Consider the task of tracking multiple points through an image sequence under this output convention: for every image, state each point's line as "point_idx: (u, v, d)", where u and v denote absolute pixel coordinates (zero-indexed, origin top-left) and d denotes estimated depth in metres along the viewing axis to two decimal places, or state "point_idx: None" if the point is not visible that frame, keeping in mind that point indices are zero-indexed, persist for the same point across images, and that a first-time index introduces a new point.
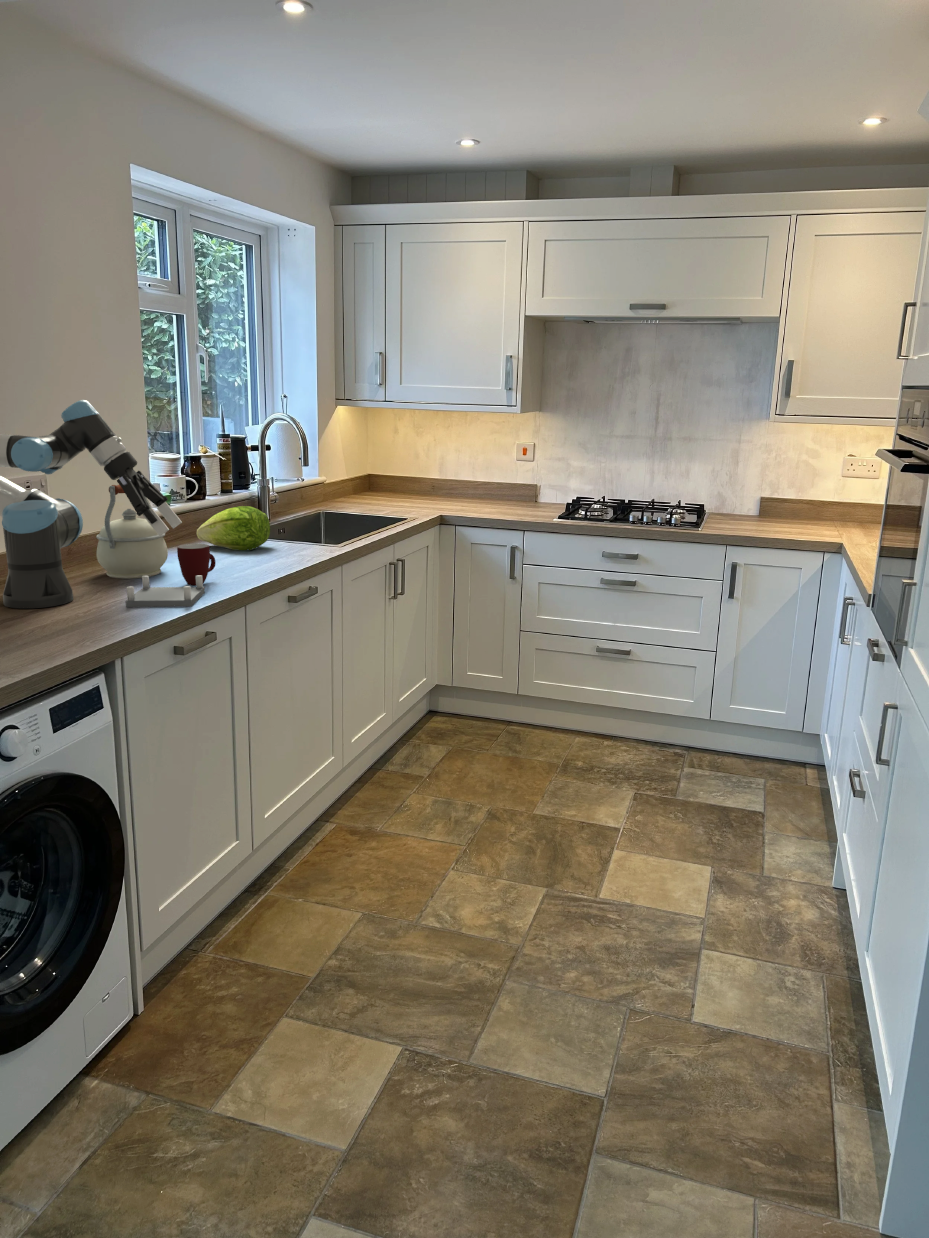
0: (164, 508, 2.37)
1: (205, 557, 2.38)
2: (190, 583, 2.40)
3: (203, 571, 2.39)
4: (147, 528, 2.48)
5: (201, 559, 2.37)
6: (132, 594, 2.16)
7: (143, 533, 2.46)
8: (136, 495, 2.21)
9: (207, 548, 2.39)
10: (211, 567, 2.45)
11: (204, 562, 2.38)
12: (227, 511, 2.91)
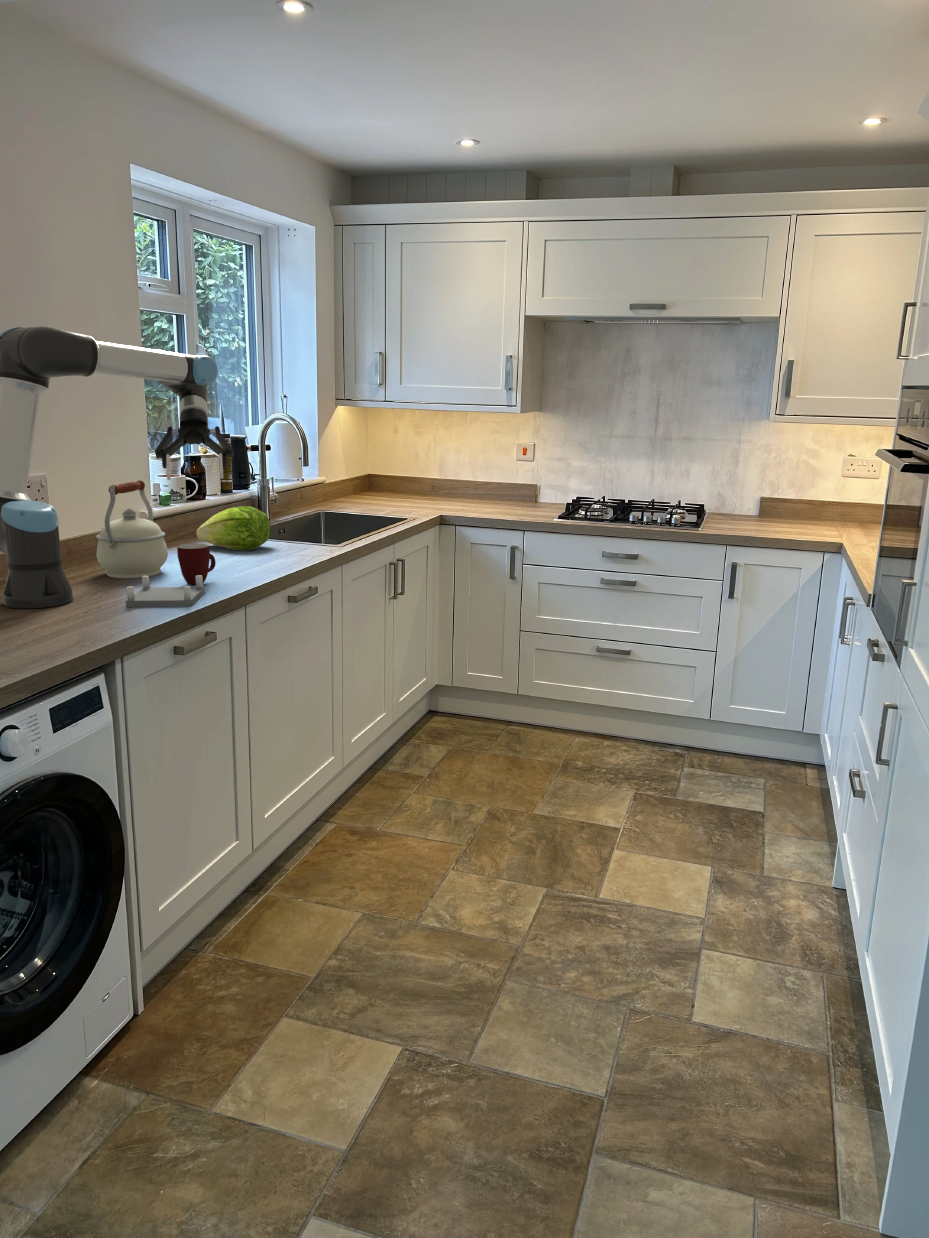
0: None
1: (205, 557, 2.38)
2: (190, 583, 2.40)
3: (203, 571, 2.39)
4: (147, 528, 2.48)
5: (201, 559, 2.37)
6: (132, 594, 2.16)
7: (143, 533, 2.46)
8: None
9: (207, 548, 2.39)
10: (211, 567, 2.45)
11: (204, 562, 2.38)
12: (227, 511, 2.91)
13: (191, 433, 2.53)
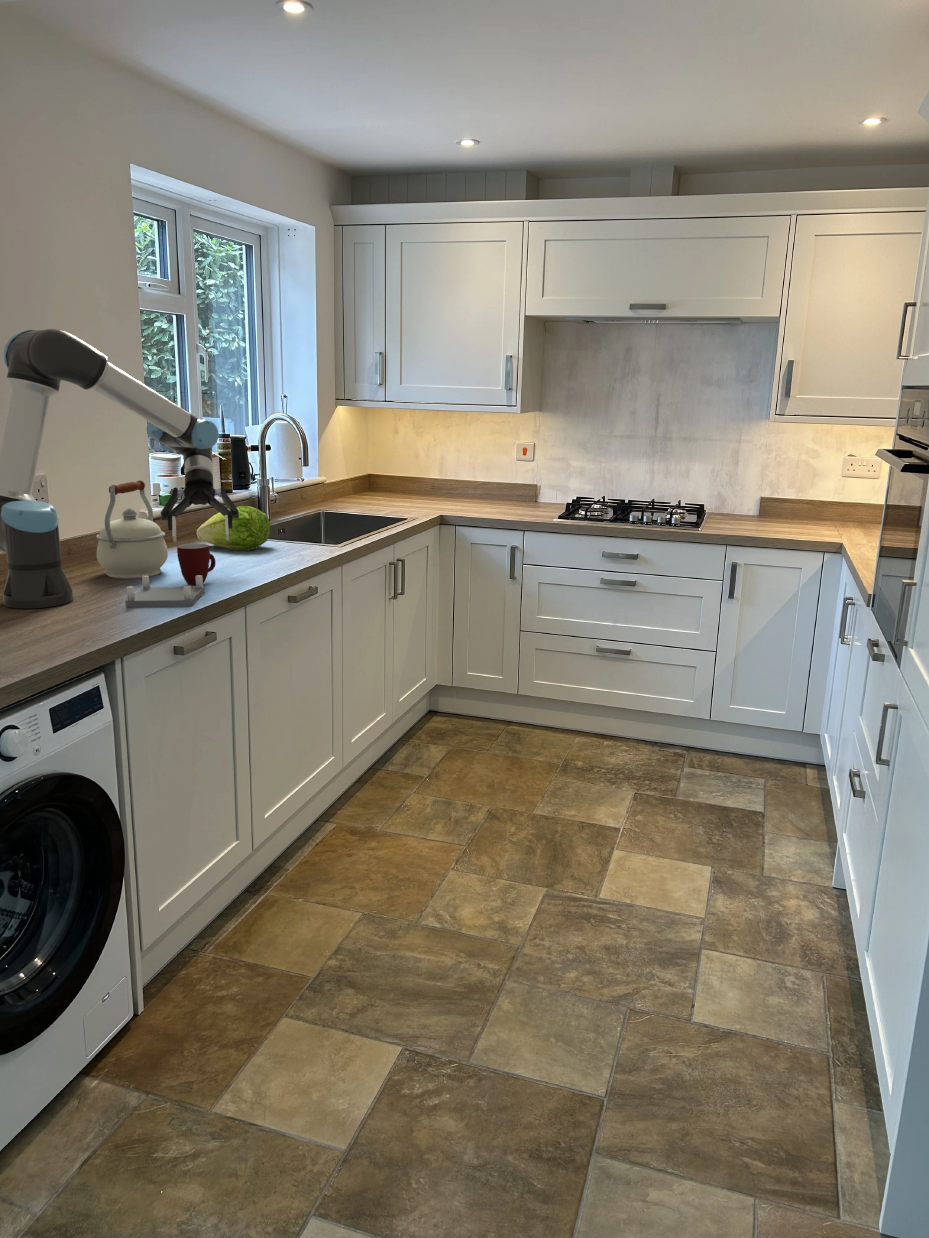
0: (175, 523, 2.48)
1: (205, 557, 2.38)
2: (190, 583, 2.40)
3: (203, 571, 2.39)
4: (147, 528, 2.48)
5: (201, 559, 2.37)
6: (132, 594, 2.16)
7: (143, 533, 2.46)
8: None
9: (207, 548, 2.39)
10: (211, 567, 2.45)
11: (204, 562, 2.38)
12: None
13: (197, 494, 2.53)
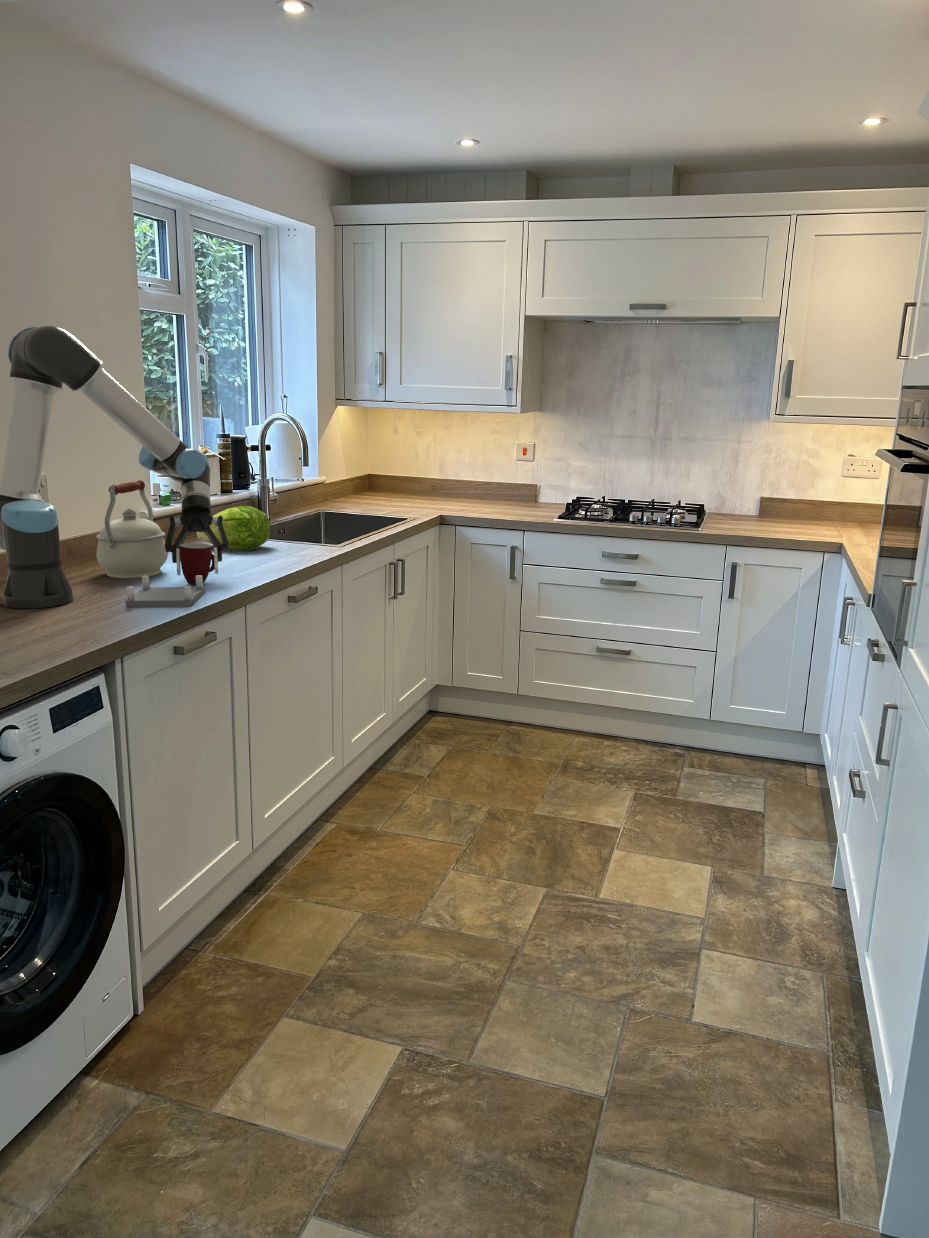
0: None
1: (207, 557, 2.38)
2: (190, 582, 2.40)
3: (204, 571, 2.39)
4: (147, 528, 2.48)
5: (203, 559, 2.38)
6: (132, 594, 2.16)
7: (143, 533, 2.46)
8: None
9: (209, 548, 2.39)
10: (212, 567, 2.45)
11: (206, 562, 2.39)
12: (227, 511, 2.91)
13: (193, 521, 2.46)
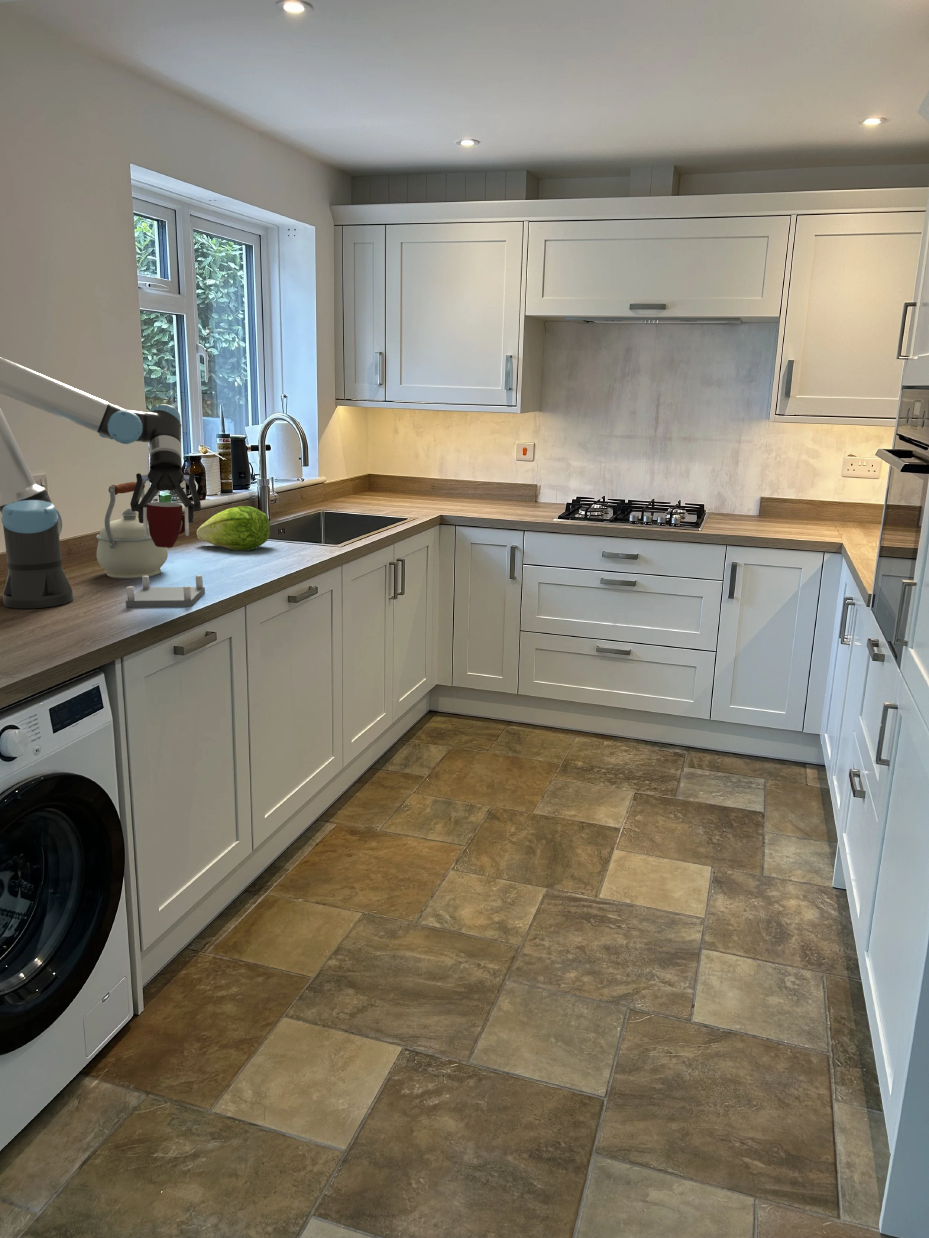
0: None
1: (177, 517, 2.18)
2: (158, 544, 2.19)
3: (173, 532, 2.19)
4: None
5: (172, 519, 2.17)
6: (132, 594, 2.16)
7: (143, 533, 2.46)
8: None
9: (180, 508, 2.19)
10: (182, 529, 2.25)
11: (175, 523, 2.18)
12: (227, 511, 2.91)
13: (162, 478, 2.25)
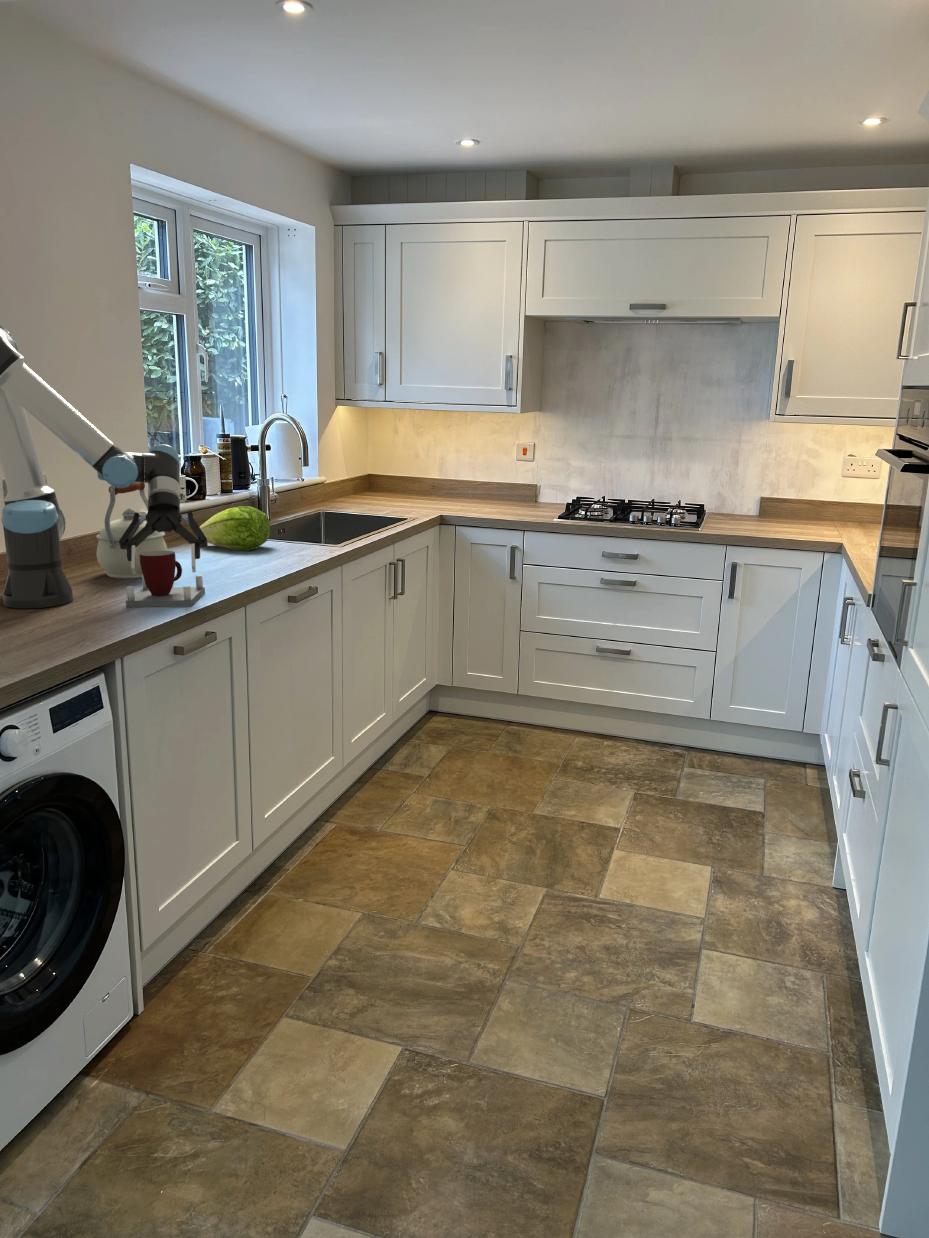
0: (135, 553, 2.21)
1: (170, 565, 2.19)
2: (154, 593, 2.20)
3: (168, 580, 2.20)
4: None
5: (166, 567, 2.18)
6: (132, 594, 2.16)
7: None
8: None
9: (172, 555, 2.19)
10: (177, 576, 2.26)
11: (169, 570, 2.19)
12: (227, 511, 2.91)
13: (160, 520, 2.26)
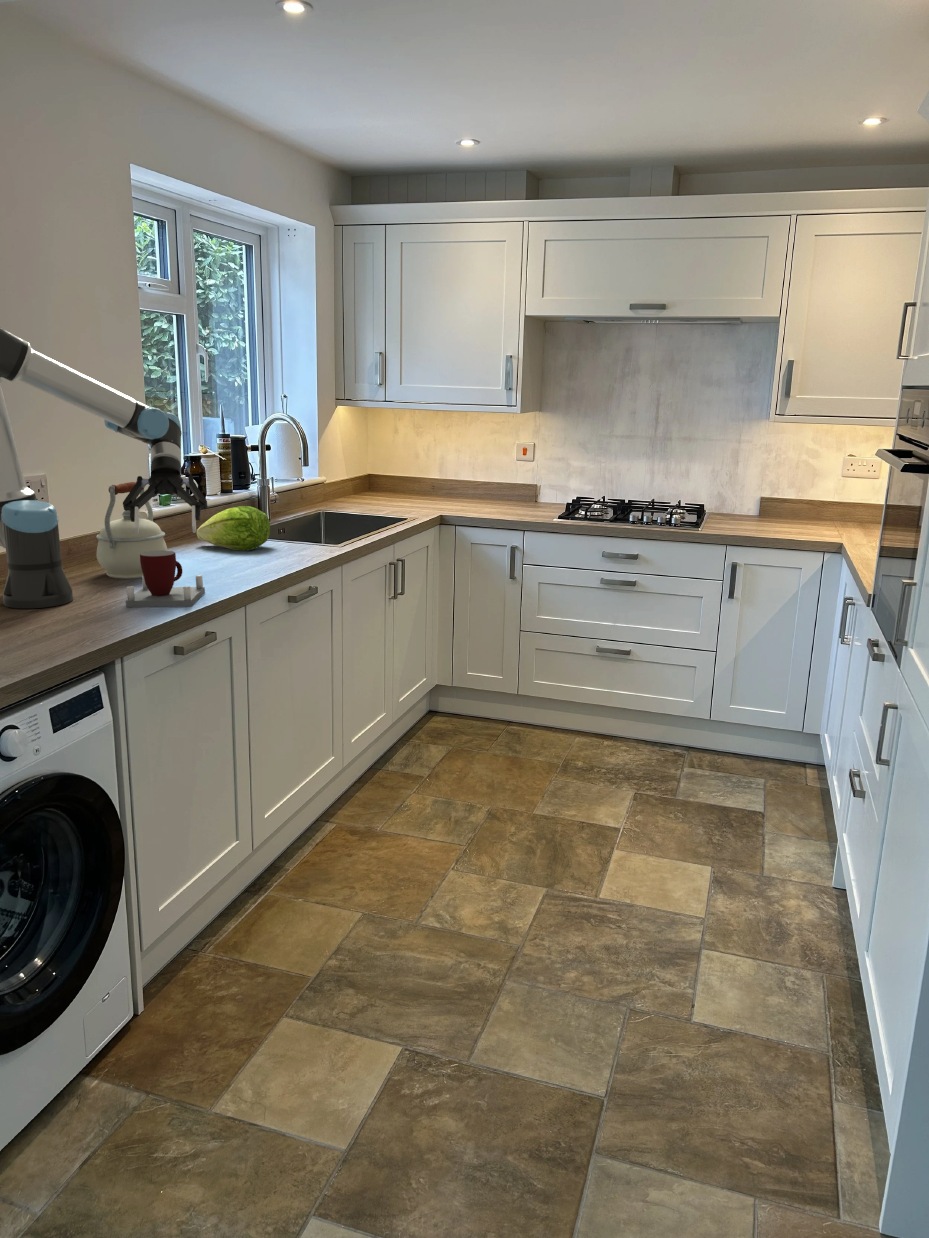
0: (138, 514, 2.31)
1: (171, 565, 2.19)
2: (154, 593, 2.20)
3: (168, 580, 2.20)
4: (147, 528, 2.48)
5: (166, 567, 2.18)
6: (132, 594, 2.16)
7: (143, 533, 2.46)
8: None
9: (173, 555, 2.19)
10: (178, 576, 2.26)
11: (169, 571, 2.19)
12: (227, 511, 2.91)
13: (162, 483, 2.36)
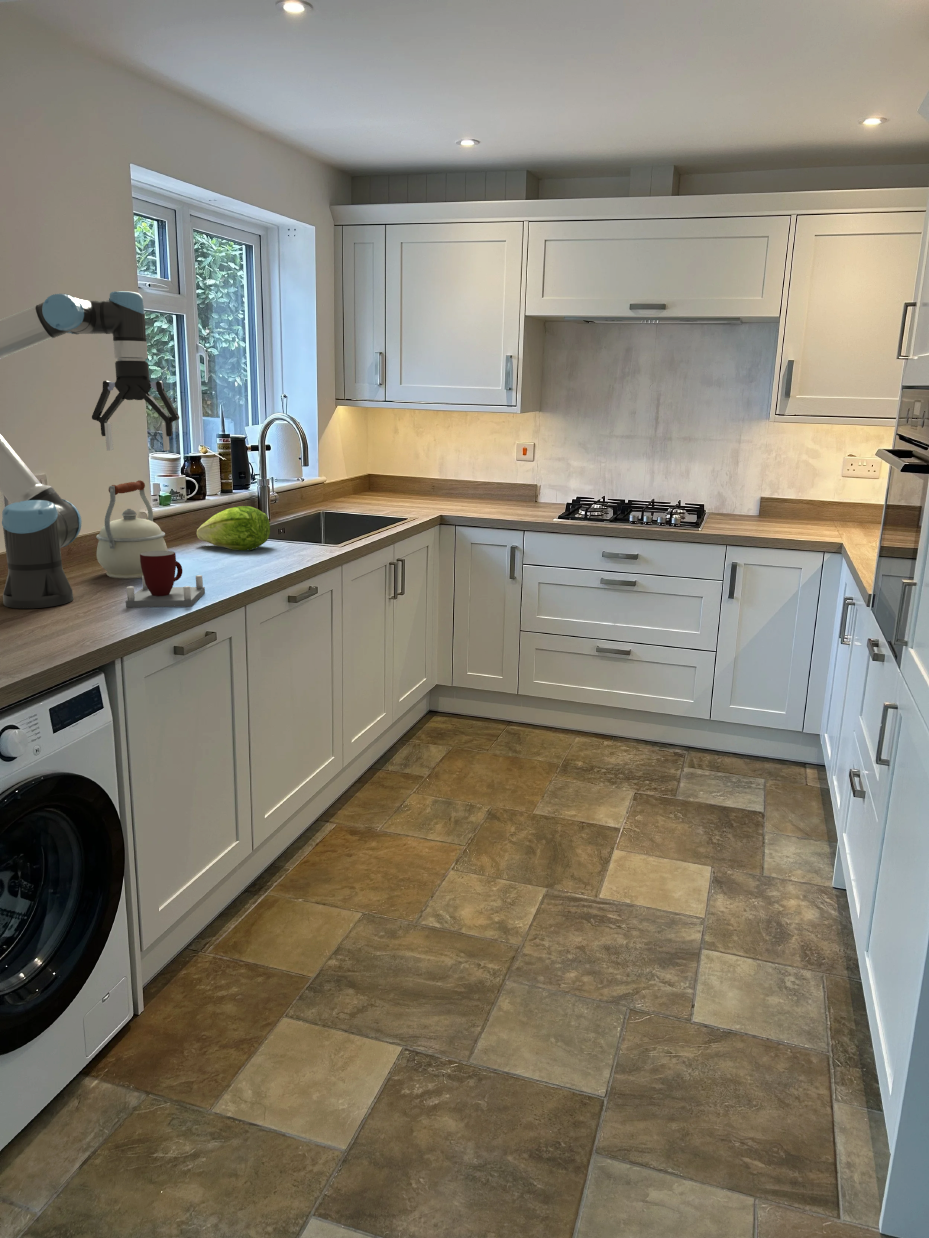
0: (109, 428, 2.26)
1: (171, 565, 2.19)
2: (154, 593, 2.20)
3: (168, 580, 2.20)
4: (147, 528, 2.48)
5: (166, 567, 2.18)
6: (132, 594, 2.16)
7: (143, 533, 2.46)
8: (172, 405, 2.26)
9: (173, 555, 2.19)
10: (178, 576, 2.26)
11: (169, 571, 2.19)
12: (227, 511, 2.91)
13: (129, 391, 2.23)
